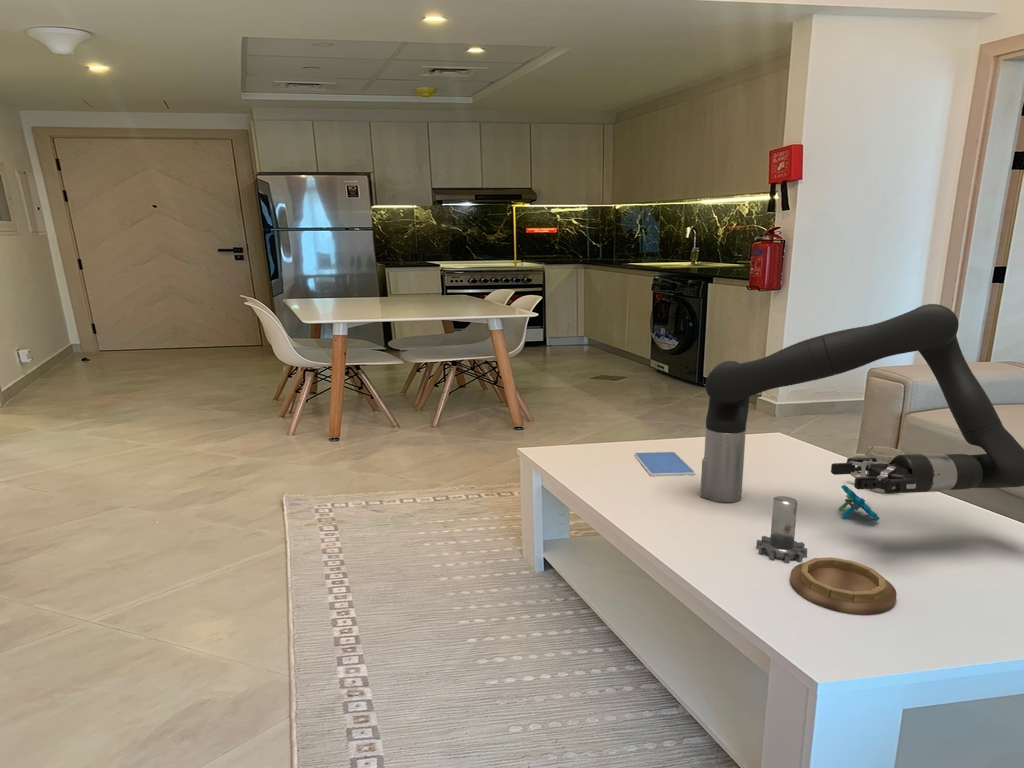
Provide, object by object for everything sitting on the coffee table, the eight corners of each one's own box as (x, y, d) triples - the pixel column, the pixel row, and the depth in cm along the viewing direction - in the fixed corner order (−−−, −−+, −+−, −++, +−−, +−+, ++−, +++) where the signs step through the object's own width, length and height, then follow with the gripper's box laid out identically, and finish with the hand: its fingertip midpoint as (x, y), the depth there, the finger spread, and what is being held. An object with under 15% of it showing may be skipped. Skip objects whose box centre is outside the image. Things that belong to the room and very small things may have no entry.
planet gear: (753, 556, 131) (757, 504, 129) (759, 538, 139) (762, 489, 137) (805, 566, 127) (810, 512, 125) (808, 547, 135) (812, 496, 133)
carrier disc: (786, 600, 115) (787, 586, 114) (793, 559, 130) (794, 546, 129) (898, 624, 107) (900, 609, 107) (893, 578, 122) (894, 564, 122)
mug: (899, 497, 161) (903, 458, 159) (842, 488, 167) (845, 450, 165) (900, 487, 168) (905, 449, 166) (845, 478, 174) (849, 442, 172)
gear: (888, 521, 143) (854, 487, 144) (866, 539, 144) (833, 505, 145) (870, 509, 154) (839, 477, 155) (850, 525, 155) (819, 494, 156)
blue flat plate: (633, 456, 196) (633, 452, 196) (674, 455, 197) (675, 450, 197) (650, 478, 177) (650, 474, 177) (696, 477, 178) (696, 472, 178)
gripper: (902, 444, 137) (825, 447, 137) (950, 466, 124) (865, 469, 123) (898, 478, 139) (823, 481, 138) (945, 504, 125) (862, 507, 124)
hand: (843, 476), depth 130 cm, fingers open, 8 cm apart
